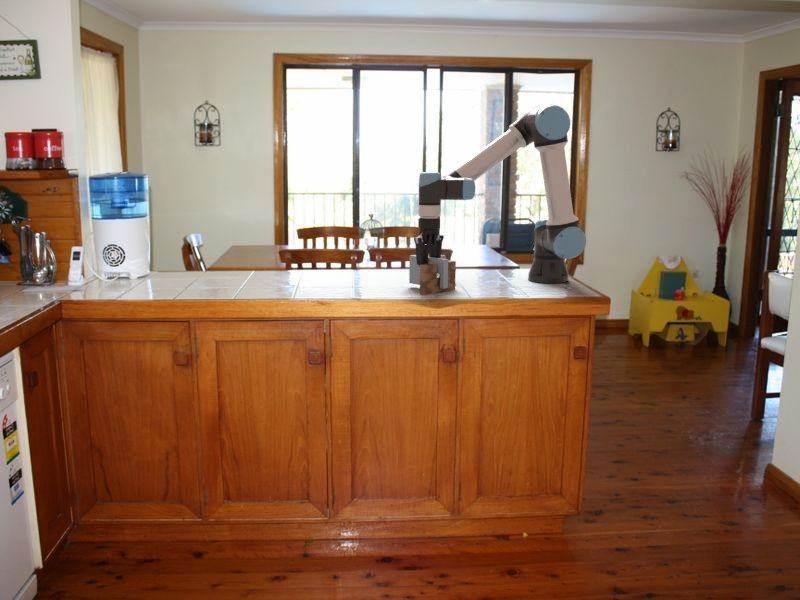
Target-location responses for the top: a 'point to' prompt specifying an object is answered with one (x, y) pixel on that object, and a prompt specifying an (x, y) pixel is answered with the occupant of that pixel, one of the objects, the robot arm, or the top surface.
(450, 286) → the notched wooden slab
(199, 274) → the top surface
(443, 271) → the grey notched arch block
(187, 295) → the top surface
